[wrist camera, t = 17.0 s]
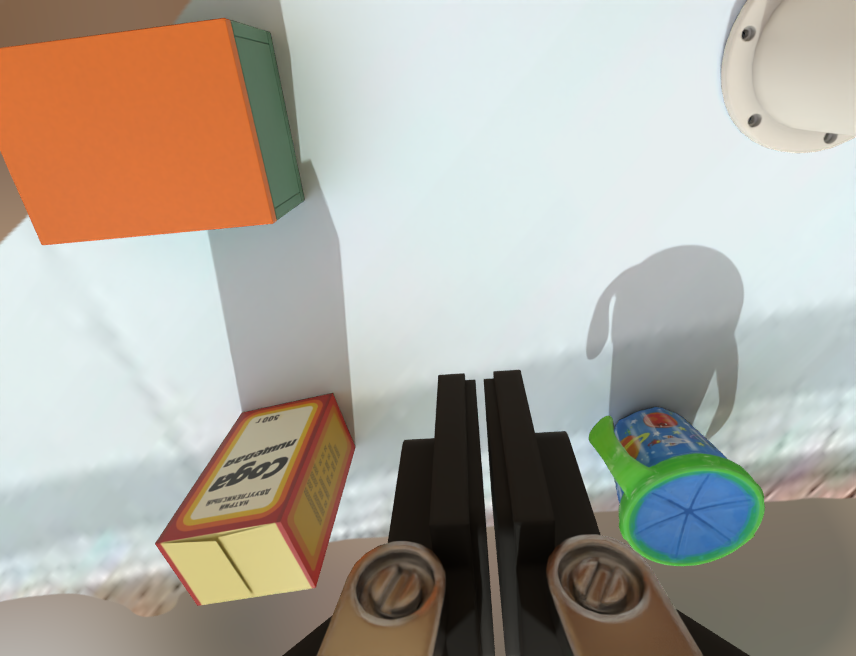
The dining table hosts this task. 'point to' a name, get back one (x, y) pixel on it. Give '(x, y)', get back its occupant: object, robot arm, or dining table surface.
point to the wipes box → (269, 116)
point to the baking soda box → (263, 504)
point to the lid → (132, 134)
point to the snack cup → (676, 489)
